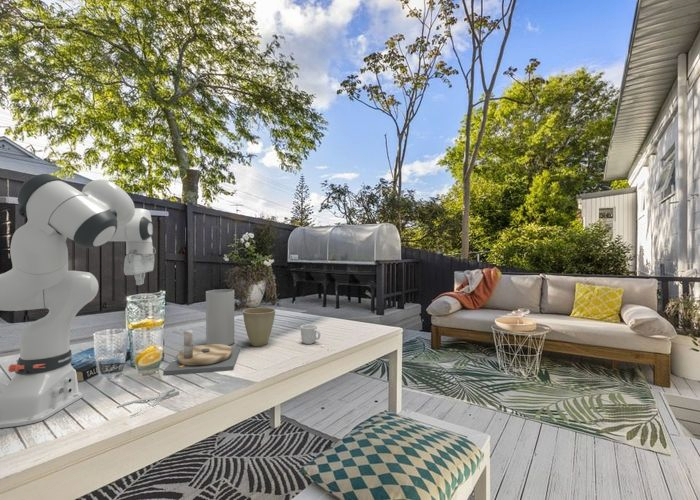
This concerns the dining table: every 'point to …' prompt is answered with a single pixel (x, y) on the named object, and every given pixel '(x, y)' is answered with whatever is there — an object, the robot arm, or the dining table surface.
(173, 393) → the pliers
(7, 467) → the dining table surface
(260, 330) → the plant pot
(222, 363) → the dial base
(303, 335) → the cup
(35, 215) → the robot arm
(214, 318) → the cylinder vase
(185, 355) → the dial
